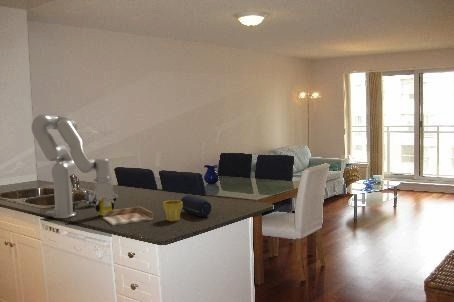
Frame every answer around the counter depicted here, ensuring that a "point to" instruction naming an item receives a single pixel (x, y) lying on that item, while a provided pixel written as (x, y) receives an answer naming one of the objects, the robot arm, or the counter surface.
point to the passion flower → (89, 198)
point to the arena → (127, 215)
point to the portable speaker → (196, 205)
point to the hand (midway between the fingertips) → (104, 210)
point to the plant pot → (173, 209)
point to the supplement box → (104, 206)
